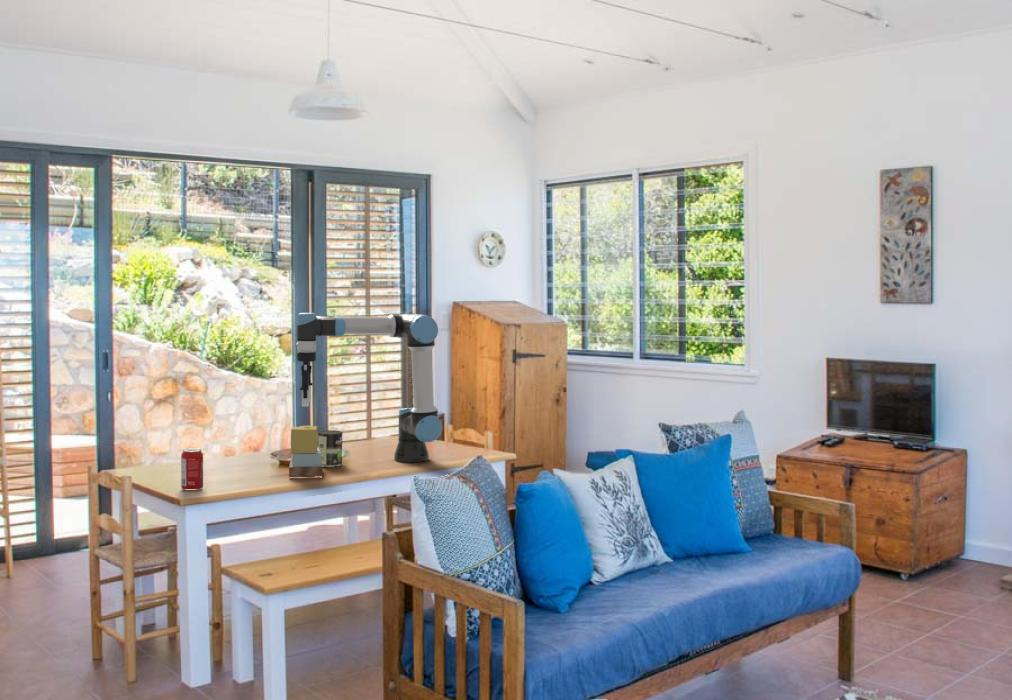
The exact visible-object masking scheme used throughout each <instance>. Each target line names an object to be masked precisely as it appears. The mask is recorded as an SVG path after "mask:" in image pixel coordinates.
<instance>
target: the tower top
mask: <svg viewBox="0 0 1012 700" xmlns="http://www.w3.org/2000/svg"><path fill="white" fill-rule="evenodd" d="M291 461H292V466H293V467H310V466H321V453H320V450H319V449H318V448H317V453H308V454H292V453H291Z"/></svg>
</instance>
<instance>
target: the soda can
mask: <svg viewBox="0 0 1012 700" xmlns="http://www.w3.org/2000/svg"><path fill="white" fill-rule="evenodd" d="M180 472H181V473H180V480H181V481H180V483H181V484H180V485H181V486H180V487H181V489H182V490H184V489H200V488H201V489H203V488H204V453H203V452H202V448H201V449H200V448H186V449H183V451H182V453H181V455H180ZM201 489H200V490H201Z"/></svg>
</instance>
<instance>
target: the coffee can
mask: <svg viewBox="0 0 1012 700" xmlns="http://www.w3.org/2000/svg"><path fill="white" fill-rule="evenodd" d="M343 433H344V432H343V431H342V430H332V429H331V430H330V429H329V430H327V429H326V430H321V431H320V430H319V431H318V448H317V449H319V450H320V453H321V461H323V468H334V467H335V466H337V467H341V466H342V465H343ZM335 468H336V467H335Z"/></svg>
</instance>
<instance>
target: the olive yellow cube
mask: <svg viewBox="0 0 1012 700" xmlns="http://www.w3.org/2000/svg"><path fill="white" fill-rule="evenodd" d="M318 432H319V431H318V426H317V425H300V426H294V427H292V428H291V429H290V453H291V455H292V454H308V453H317V449H318Z"/></svg>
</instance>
